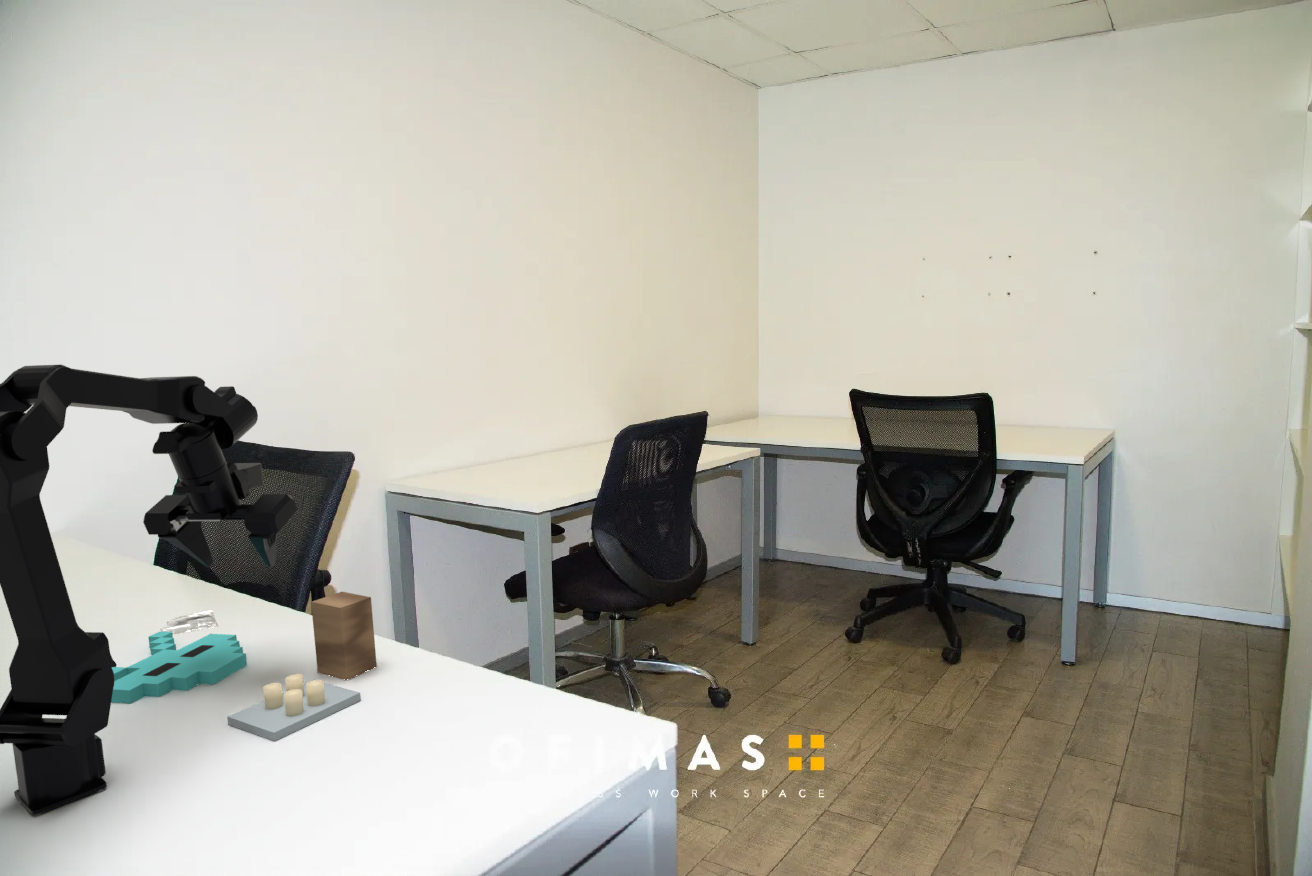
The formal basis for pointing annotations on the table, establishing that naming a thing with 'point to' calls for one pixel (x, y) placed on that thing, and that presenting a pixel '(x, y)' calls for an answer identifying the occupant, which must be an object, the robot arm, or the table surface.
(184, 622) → the crumpled silver wrapper
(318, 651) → the walnut block
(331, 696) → the peg stand
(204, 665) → the alien figure
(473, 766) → the table surface
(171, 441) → the robot arm
